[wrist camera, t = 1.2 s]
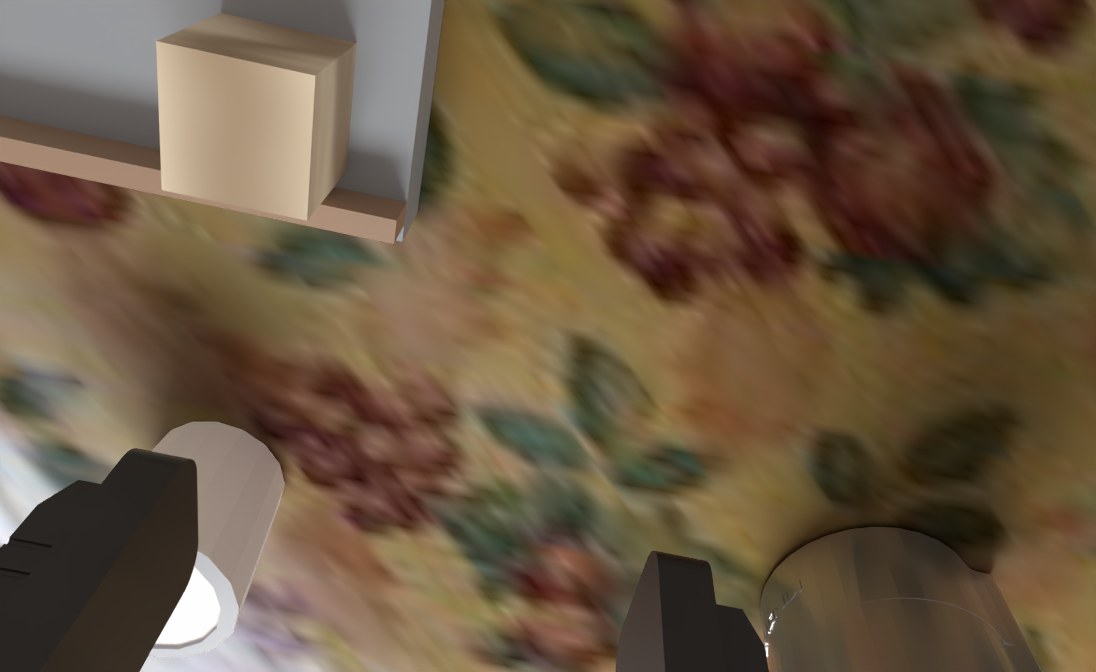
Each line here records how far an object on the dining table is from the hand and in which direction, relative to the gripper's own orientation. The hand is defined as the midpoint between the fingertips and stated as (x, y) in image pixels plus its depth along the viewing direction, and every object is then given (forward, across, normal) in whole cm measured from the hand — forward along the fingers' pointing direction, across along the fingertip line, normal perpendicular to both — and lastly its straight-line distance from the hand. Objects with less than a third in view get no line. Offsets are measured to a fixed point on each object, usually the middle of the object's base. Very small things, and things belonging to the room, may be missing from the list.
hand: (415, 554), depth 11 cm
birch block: (+17, +7, 0) cm, 19 cm away
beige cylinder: (+20, +10, +18) cm, 29 cm away
